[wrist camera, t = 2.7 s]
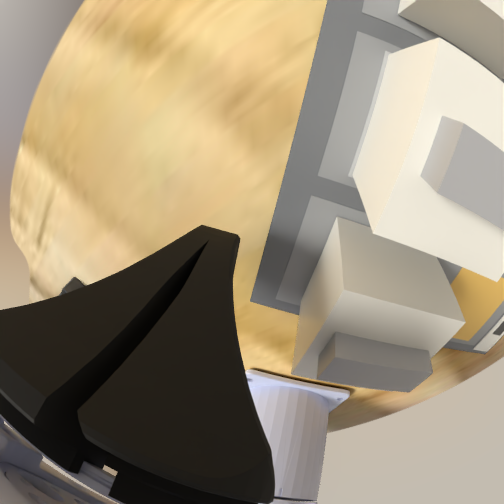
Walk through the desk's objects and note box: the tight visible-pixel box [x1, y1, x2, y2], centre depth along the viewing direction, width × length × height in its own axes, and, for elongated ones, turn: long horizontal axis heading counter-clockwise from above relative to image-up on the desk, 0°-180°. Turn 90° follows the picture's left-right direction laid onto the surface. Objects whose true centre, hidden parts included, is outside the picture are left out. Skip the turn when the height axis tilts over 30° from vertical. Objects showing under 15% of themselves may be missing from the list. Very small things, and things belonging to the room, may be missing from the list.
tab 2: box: [352, 37, 504, 282], centre depth 5 cm, size 4×4×4 cm
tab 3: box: [291, 216, 466, 392], centre depth 8 cm, size 4×4×4 cm
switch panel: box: [250, 0, 504, 354], centre depth 7 cm, size 17×15×2 cm
